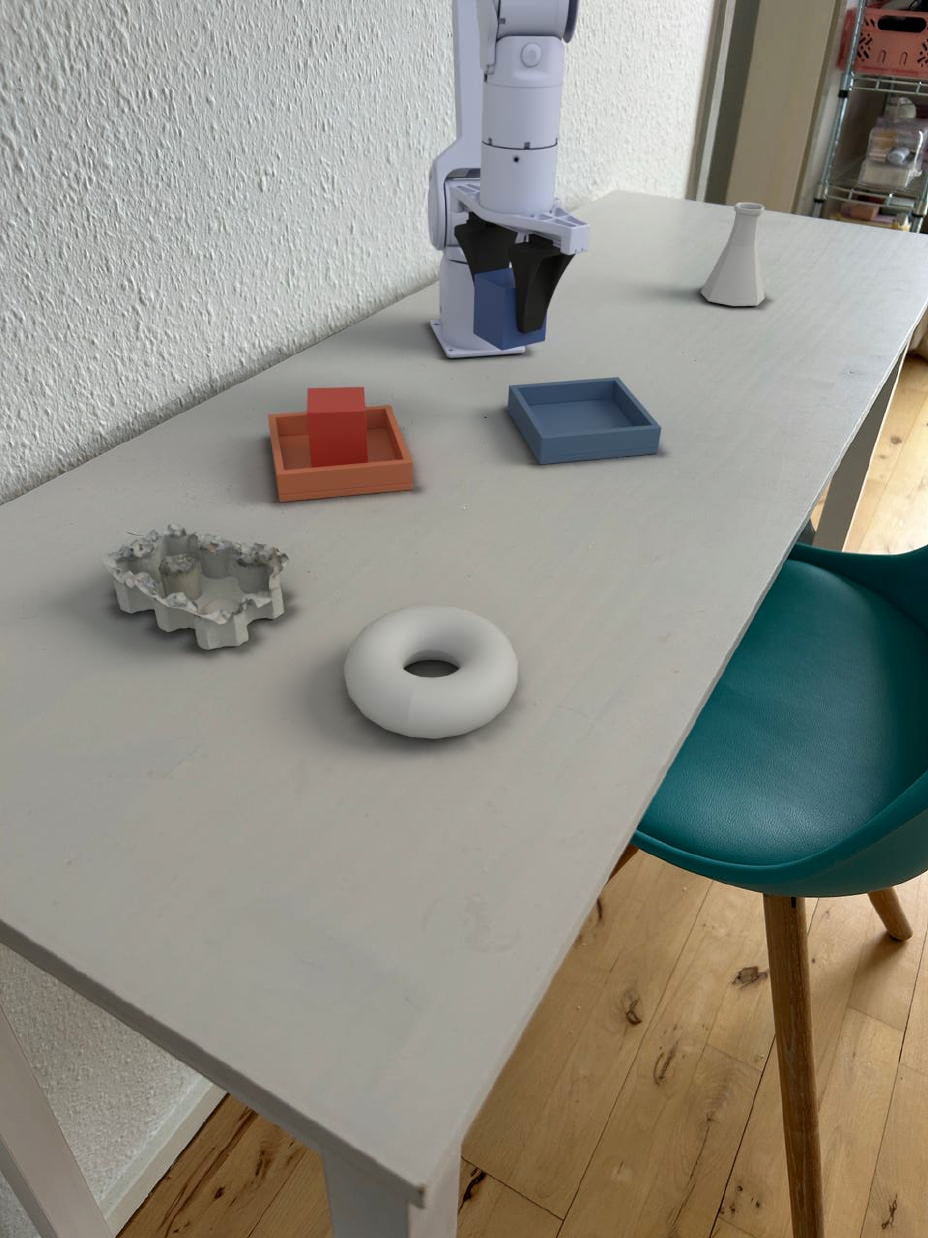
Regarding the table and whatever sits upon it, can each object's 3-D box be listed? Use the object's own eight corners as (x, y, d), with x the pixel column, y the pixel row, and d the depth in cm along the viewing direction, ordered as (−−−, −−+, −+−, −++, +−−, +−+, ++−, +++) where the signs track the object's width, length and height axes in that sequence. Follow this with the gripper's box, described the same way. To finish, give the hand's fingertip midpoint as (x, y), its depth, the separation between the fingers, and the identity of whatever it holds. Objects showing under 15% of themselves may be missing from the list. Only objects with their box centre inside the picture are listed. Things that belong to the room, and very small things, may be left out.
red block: (312, 445, 78) (307, 387, 75) (366, 443, 78) (364, 386, 75) (311, 471, 74) (306, 412, 71) (368, 469, 75) (365, 410, 72)
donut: (505, 635, 60) (345, 638, 59) (509, 590, 58) (343, 593, 57) (527, 749, 52) (343, 755, 51) (532, 703, 50) (340, 708, 49)
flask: (765, 311, 106) (786, 217, 100) (699, 305, 107) (716, 211, 101) (762, 289, 112) (782, 199, 106) (700, 284, 113) (715, 194, 107)
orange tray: (270, 440, 80) (267, 414, 78) (391, 430, 81) (390, 404, 80) (279, 502, 72) (276, 474, 70) (412, 489, 74) (412, 462, 72)
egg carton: (302, 606, 62) (297, 553, 59) (216, 667, 57) (206, 612, 54) (189, 550, 66) (179, 499, 64) (100, 602, 61) (86, 549, 59)
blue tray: (507, 410, 85) (508, 385, 84) (615, 401, 87) (618, 376, 85) (539, 464, 77) (541, 437, 76) (657, 453, 79) (661, 427, 78)
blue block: (472, 333, 81) (474, 273, 77) (515, 324, 82) (518, 265, 79) (501, 351, 78) (504, 289, 75) (545, 341, 80) (549, 280, 76)
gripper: (627, 153, 68) (606, 337, 77) (499, 119, 77) (492, 287, 86) (554, 165, 65) (540, 357, 73) (429, 128, 74) (429, 303, 82)
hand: (510, 321), depth 79 cm, fingers closed on blue block, 4 cm apart
